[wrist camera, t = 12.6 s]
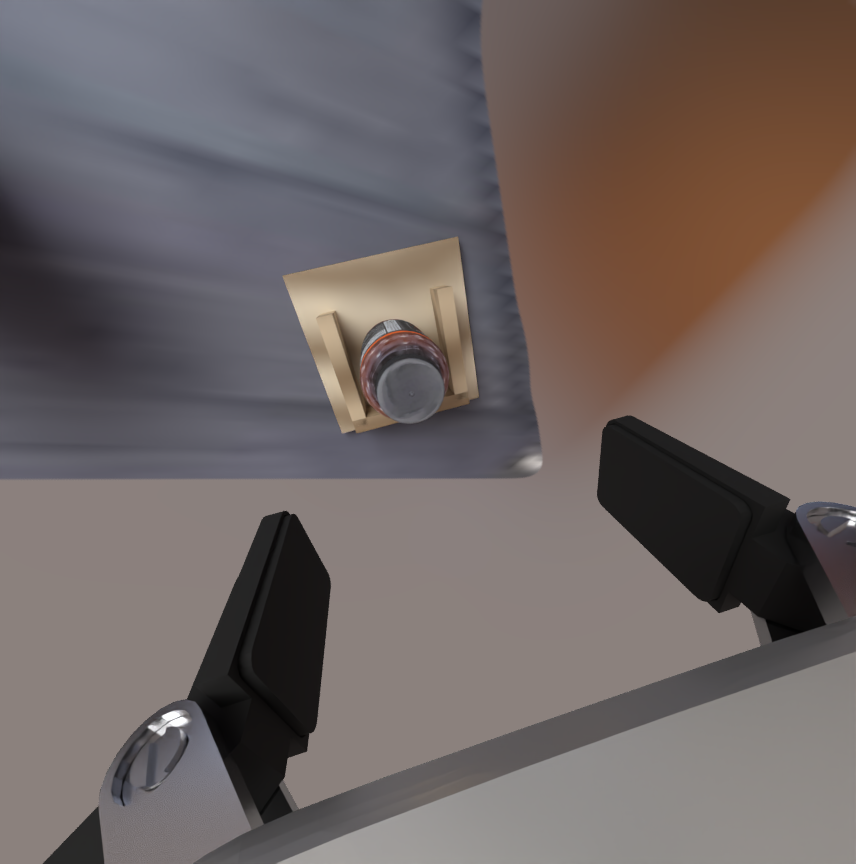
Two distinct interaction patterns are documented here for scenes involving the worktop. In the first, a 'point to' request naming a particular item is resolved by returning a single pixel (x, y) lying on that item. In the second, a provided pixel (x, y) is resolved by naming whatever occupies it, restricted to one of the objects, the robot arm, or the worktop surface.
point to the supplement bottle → (402, 372)
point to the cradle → (378, 301)
